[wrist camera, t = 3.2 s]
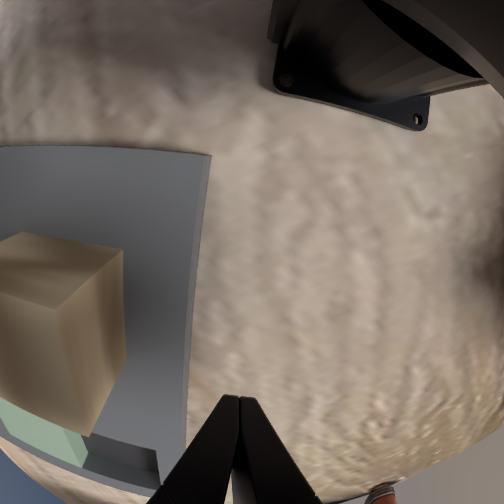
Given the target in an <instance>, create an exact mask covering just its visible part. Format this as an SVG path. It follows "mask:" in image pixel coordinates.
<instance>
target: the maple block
mask: <svg viewBox="0 0 504 504" xmlns="http://www.w3.org/2000/svg"><path fill="white" fill-rule="evenodd" d="M126 361H127V353H126V341H125V325H124V301H123V249H119V248H113V247H107V246H101V245H95V244H89V243H84V242H78V241H72V240H67V239H61V238H55V237H50V236H44V235H39V234H33V233H28V232H20V233H18V234H16V235H14V236H12V237H10V238H8V239H5V240H3V241H1V242H0V397H1V398H2V399H4V400H6V401H8V402H10V403H12V404H13V405H15V406H17V407H19V408H21V409H23V410H25V411H27V412H29V413H31V414H33V415H35V416H38V417H40V418H42V419H44V420H46V421H49V422H51V423H53V424H56V425H58V426H60V427H63V428H65V429H68V430H70V431H73V432H76V433H78V434H81V435H84V436H87V437H89V436H90V434H91V432H92V430H93V428H94V425H95V423H96V421H97V419H98V417H99V415H100V413H101V411H102V409H103V407H104V404H105V402H106V400H107V398H108V396H109V394H110V392H111V390H112V388H113V386H114V384H115V382H116V380H117V378H118V376H119V374H120V372H121V370H122V368H123V366H124V365H125V363H126Z"/></svg>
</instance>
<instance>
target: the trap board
mask: <svg viewBox="0 0 504 504" xmlns="http://www.w3.org/2000/svg"><path fill="white" fill-rule="evenodd" d="M211 157H212V156H211V155H203V154H195V153H186V152H177V151H167V150H156V149H144V148H130V147H114V146H90V145H19V146H0V242H1V241H3V240H5V239H8V238H10V237H12V236H14V235H16V234H18V233H20V232H28V233H33V234H39V235H44V236H50V237H55V238H61V239H67V240H72V241H78V242H84V243H89V244H95V245H101V246H107V247H113V248H119V249H123V301H124V325H125V341H126V353H127V361H126V363H125V365H124V366H123V368H122V370H121V372H120V374H119V376H118V378H117V380H116V382H115V384H114V386H113V388H112V390H111V392H110V394H109V396H108V398H107V400H106V402H105V404H104V407H103V409H102V411H101V413H100V415H99V417H98V419H97V421H96V423H95V425H94V428H93V430H92V432H91V434H90V436H89V437H87V436H84V435H81V434H78V433H76V432H73V431H70V430H68V429H65V428H63V427H60V426H58V425H56V424H53V423H51V422H49V421H46V420H44V419H42V418H40V417H38V416H35V415H33V414H31V413H29V412H27V411H25V410H23V409H21V408H19V407H17V406H15V405H13V404H12V403H10V402H8V401H6V400H4V399H2V398H1V397H0V436H1V437H3V438H4V439H6V440H8V441H9V442H11V443H13V444H14V445H16V446H18V447H20V448H22V449H23V450H25V451H27V452H29V453H31V454H33V455H35V456H37V457H39V458H41V459H43V460H45V461H47V462H49V463H51V464H54V465H56V466H58V467H60V468H63V469H65V470H67V471H70V472H72V473H75V474H77V475H80V476H82V477H85V478H87V479H90V480H93V481H96V482H99V483H102V484H104V485H108V486H111V487H114V488H117V489H120V490H124V491H127V492H131V493H135V494H138V495H142V496H146V497H152V496H153V494H154V493H155V492H156V490H157V489H158V488H159V486H160V485H163V481H164V480H165V479H166V477H167V476H168V474H169V473H170V472H171V470H172V469H173V468H174V466H175V465H176V463H177V462H178V461H179V459H180V458H181V456H182V455H183V453H184V452H185V451H186V420H187V395H188V376H189V359H190V344H191V331H192V318H193V306H194V295H195V285H196V275H197V265H198V256H199V247H200V238H201V230H202V222H203V214H204V206H205V199H206V191H207V184H208V177H209V170H210V164H211Z"/></svg>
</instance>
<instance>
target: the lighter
mask: <svg viewBox="0 0 504 504" xmlns="http://www.w3.org/2000/svg"><path fill="white" fill-rule="evenodd" d="M395 500H396V495H395V491H394V489H393V487H392V486H389V487H384V488H381V489H379V490H376V491H374V492H372V493H371V494H370V495H369V496H368V498H367V499H366V501H365V504H396V501H395Z"/></svg>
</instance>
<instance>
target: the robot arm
mask: <svg viewBox="0 0 504 504" xmlns="http://www.w3.org/2000/svg"><path fill="white" fill-rule="evenodd" d="M267 38H268V39H269V41H270V42H271V43H275V44H278V49H277V55H276V60H275V66H274V72H273V77H272V86H273V88H274V90H275V91H277V92H278V93H280V94H282V95H287V96H292V97H296V98H301V99H306V100H310V101H315V102H319V103H323V104H327V105H331V106H335V107H339V108H342V109H346V110H350V111H353V112H357V113H360V114H363V115H367V116H370V117H373V118H376V119H379V120H382V121H385V122H388V123H391V124H394V125H397V126H400V127H403V128H405V129H408V130H411V131H422V130H424V129H425V128H426V126H427V123H428V115H429V106H430V96H432V95H436V94H441V93H445V92H450V91H455V90H459V89H464V88H470V87H475V86H480V85H486V84H491V85H492V86H493V87H494V89H495V90H496V91H497V92H498V93H499V94H500V95H501V96H502V97H503V98H504V0H273V4H272V10H271V16H270V22H269V28H268V34H267ZM282 77H288V78H290V80H291V81H292V85H291V86H289V87H285V86H283V85H281V83H280V80H279V79H280V78H282ZM414 115H416V116H417V118H418V124H415V123H414V121H413V116H414ZM230 475H231V479H232V493H233V504H323V503H322V502H321V501H320V499H319V498H318V496H315V492H314V491H313V489H312V488H311V486H310V485H309V483H308V482H307V480H306V479H305V477H304V476H303V474H302V473H301V471H300V470H299V468H298V466H297V465H296V463H295V462H294V460H293V459H292V457H291V456H290V454H289V452H288V451H287V449H286V448H285V446H284V444H283V443H282V441H281V440H280V438H279V436H278V435H277V433H276V432H275V430H274V428H273V427H272V425H271V423H270V422H269V420H268V418H267V417H266V415H265V413H264V412H263V410H262V408H261V406H260V405H259V403H258V401H257V400H256V399H255V398H253V397H244V396H241V397H240V398H239V397H238V396H235V395H227V394H225V395H223V396H222V397H221V399H220V400H219V402H218V403H217V405H216V406H215V408H214V410H213V411H212V413H211V414H210V416H209V417H208V418H207V420H206V421H205V423H204V424H203V426H202V427H201V429H200V430H199V432H198V433H197V435H196V436H195V438H194V439H193V441H192V442H191V443H190V445H189V446H188V448H187V449H186V451H185V452H184V453H183V455H182V456H181V458H180V459H179V461H178V462H177V463H176V465H175V466H174V468H173V469H172V470H171V472H170V473H169V474H168V476H167V477H166V479H165V480H164V481H163V485H160V486H159V488H158V489H157V490H156V492H155V493H154V494H153V496H152V497H151V498H150V499H149V501H148V502H147V503H146V504H224V502H225V497H226V493H227V488H228V484H229V479H230Z"/></svg>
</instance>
